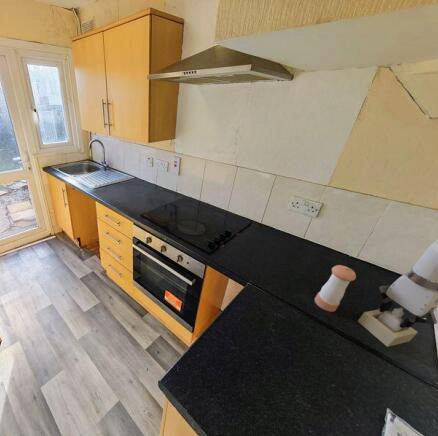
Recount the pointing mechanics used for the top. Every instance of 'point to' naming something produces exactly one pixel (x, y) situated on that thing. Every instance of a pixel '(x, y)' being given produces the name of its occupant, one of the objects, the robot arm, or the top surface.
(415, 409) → the top surface
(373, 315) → the socket block
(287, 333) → the top surface
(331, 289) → the salt shaker
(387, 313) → the eye dropper bottle
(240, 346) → the top surface
